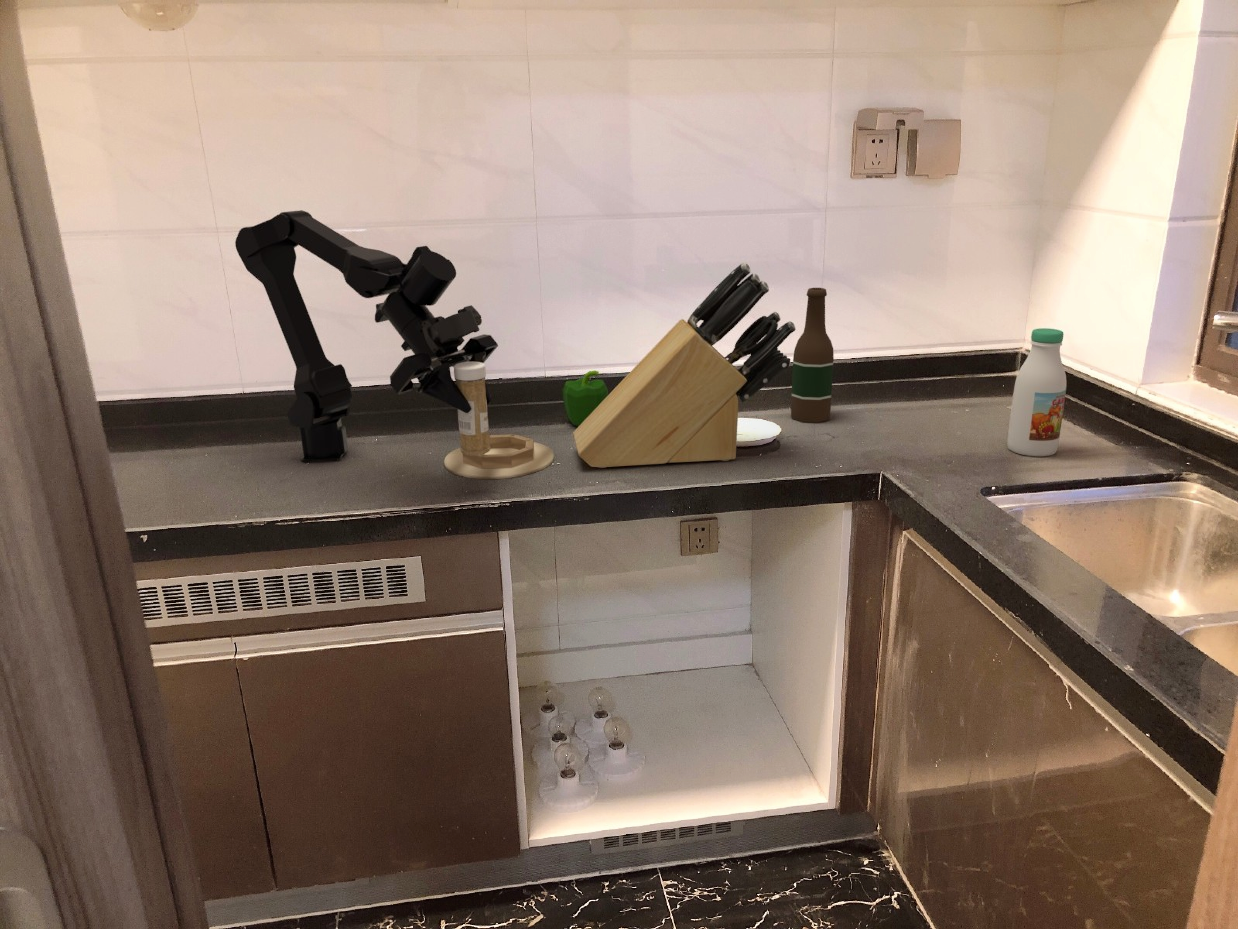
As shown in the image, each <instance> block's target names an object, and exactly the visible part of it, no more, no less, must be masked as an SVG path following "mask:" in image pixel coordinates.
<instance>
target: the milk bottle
mask: <svg viewBox="0 0 1238 929" xmlns="http://www.w3.org/2000/svg"><path fill="white" fill-rule="evenodd" d="M1064 336H1065V335H1064V331H1062V330H1060V329H1055V328H1049V327H1048V328H1047V327H1045V328H1041V327H1040V328H1034V329H1032V331H1031V336H1030V340H1031V341H1030V344H1031V348H1030V352H1029V353H1028V355H1027V357H1026V359H1025V360H1024V362H1023V364H1022V366H1020V368H1019V371H1018V373H1017V374H1016V379H1015V381H1014V382H1015V383H1014V387H1013V388H1014V389H1013V395H1012V401H1011V409H1010V416H1009V422H1008V424H1009V425H1008V433H1007V440H1006V442H1007V443H1006V445H1007V446H1006V447H1007V448H1008V450H1009V451H1011V452H1013V453H1016V454H1019V455H1022V456H1028V457H1048V456H1049V457H1050V456H1053V455H1055V454H1056V453H1057V451H1058V448H1059V444H1060V435H1061V428H1062V423H1063V422H1062V421H1063V417H1064V416H1063V414H1064V408H1065V400H1066V393H1067V375H1066V370H1065V367H1064V365H1063V362H1062V357H1061V352H1060V350H1061V346H1062V345H1063V339H1064Z"/></svg>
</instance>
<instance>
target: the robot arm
mask: <svg viewBox="0 0 1238 929" xmlns="http://www.w3.org/2000/svg"><path fill="white" fill-rule="evenodd" d="M234 244H235V245H234V246H235V249H236V252H237V254H238V256H239V258H240V260H241V262H242V264H243V265H244V267H245V269H246V271H248V272H249V274H251V275H252V276H253V277H254V278H255V279H256V280H258V282H260V283H261V284H262V285H263V288H264V290H265V292H266V295H267V297H268V299H269V300H268V301H269V302H270V305H271V307H272V309H273V313H274V315H275V317H276V320H277V322H278V325H279V327H280V330H281V332H282V335H283V336H284V340H285V342H286V345H287V348H288V349H289V350H288V351H289V352H290V355H291V357H292V360H293V362H294V365H295V368H296V370H295V374H294V375H295V376H294V382H293V390H294V393H295V396H296V400H295V401H294V402H293V404H292V405H291V407H290V409H289V410H288V412H287V413H286V415H287V418H288V421H289V423H290V426H292V427H297V428H299V432H300V440H301V445H302V446H301V447H302V453H303V455H302V457H300V461H301V462H304V463H305V462H307V463H308V462H326V461H327V462H329V461H334V462H335V461H340V460H342V458H343V456H344V455H345V454H346V452H347V451H348V448H349V447H348V446H349V445H348V438H347V431H346V430H347V429H346V427H345V426H343V425H342V419H343V418H347V417H349V415H350V414H349V412H350V406H351V401H352V399H353V393H352V392H353V391H352V387H353V385H352V384H351V382H350V380H349V378H348V376H347V372H346V368H345V367H344V366H343V365H342V364H341V363H339V364H336V365H335V364H334V363H333V362H332V361H330V360H329V359H328V358H327V356H326V354H325V351H324V348H323V347H322V344H321V342H320V338H319V336H318V334H317V331H316V329H315V326H314V324H313V321H312V318H311V316H310V313H309V311H308V308H307V306H306V302H305V301H304V297H303V296H302V293H301V290H300V288H299V286H298V283H297V280H296V278H295V267H296V262H297V253H296V250H295V248H297V247H299V246H300V247H301V248H302V249H304V250H307V251H308V252H309V253H311V254H312V255H314V256H316V257H317V258H319V259H320V260H322V261H324V263H325V262H326V263H327V264H328V265H330V266H331V267H334V269H336V270H338V271H340V272H341V274H342V275H343V278H344V281H345V283H346V284H347V285H348V286H349V287H350V288H351V289H353V290H354V292H356V293H357V294H358V295H359V296H361V297H362V298H364V299H372V298H377V297H382V296H386V295H387V296H386V298H385V299H384V301H383V302H380V303H376V304H375V314H374V321H375V323H377V324H378V323H383V322H386V321H389V322H390V324H391V325H392V327H393V329H394V330H396V332H397V333H398V335H399V336H400V338H402V340H403V343H402V344H401V345H400V347H401V348H402V350H403V351H404V352H407V351H411V352H412V353H413V354H412V355H409V356H408V355H407V356H404V358H402V360H401V361H400V362H399V363H398V365H397V366H396V367H395V369H394V370H393V371H392V373H391V374H390V375H389V379H390V380H389V381H390V382H389V383H390V386H391V387H392V389H393V390H394V392H395V393H396V394H397V396H400V395H403V394H405V393H409V392H412V390H413V389H414V382H413V381H412V380H414V379H417V382H418V383H419V386H418V388H417V389H416V393H418V394H421V393H422V394H425V395H428V396H430V397H432V398H434V399H437V400H438V401H441V402H443V403H445V404H447V405H449V406H452V407H453V408H455V409H457V410H458V409H459V410H461V411H463V412H465V413H469V412H470V411H471V406H470V405H469V403H468V401H467V400H466V398H465V397H464V395H463V394H462V392H461V391H460V389H459V388H458V387H457V385H456V381H454V379H453V378H452V375H451V368H454V366H455V365H456V364H458V363H462V362H481V363H483V364H485V362H486V361H487V360H488V359H489V357H491V355H492V354H493V353H494V351H495V350H496V349H497V348H498V347H499V345H498V343H497V342H496V340H495V338H494V337H493V336H492V335H491V334H481V335H478V336H474V337H471V338H469V339H468V341H467V342H466V343H465V344H464V345H463V347H462V348H461V349H460V350H459V349H458V347H459V346H462V344H463V343H464V342H465V339H464V337H465V336H468V335H470V334H472V333H477V332H479V331H480V327H479V326H480V325H481V324H482V323H483V320H482V315H481V314H480V313H479V312H478V311H477V309H476V308H475V307H474V306H473V305H470V304H469V305H466V306H464V307H463V308H461V309H458V310H457V313H454V314H451V315H449V316H447V317H444V316H442V315H441V316H440V315H439V316H436V317H435V316H434V314H433V313H432V311H430V309H429V308H428V306H429V307H431V306H435V304H437V302H439V300H440V299H441V297H442V296H443V295H444V294H445V292H446V290H447V289H448V288H449V286H451V283H452V282H453V281H454V280H455V278H456V277H457V276H456V275H457V270H456V268H455V265H454V263H452V261H451V260H450V259H448V258H446V257H445V256H443V255H442V254H440V253H438V252H436V251H432V250H431V249H430V248H429V247H428V246H427V245H422V246H417V247H415V249H414V250H413V251H412V254H411V257H410V259H409V260H408V262H407V263H404V262H403V261H402V260H401V259H400V258H399V257H397V256H396V255H394V254H391V253H388V252H385V251H383V250H379V249H373V248H367V247H364V246H361V245H360V244H357V243H355V241H352V240H350V239H349V238H347V237H346V236H344V235H342V234H340V233H339V232H338V231H335V230H334V229H332V228H330V227H329V226H328V225H326V224H324V223H322V222H320V221H319V220H317V219H316V218H314V217H313V216H312V214H311V213H310V212H308V211H305V210H301V209H300V210H290V211H283V212H282V211H281V212H280V213H279V214H276V215H275V216H274V217H272V218H269V219H268V220H266V221H263V222H261V223H258V224H256V225H253V226H245V227H242V228H240V229H239V231H238V233H237V236H236V238H235V243H234ZM485 389H486V400H487V406H489V405H490V404H491V403H492V397H491V394H490V391H489V388H488V385H487V381H485Z"/></svg>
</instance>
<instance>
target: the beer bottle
mask: <svg viewBox="0 0 1238 929" xmlns="http://www.w3.org/2000/svg"><path fill="white" fill-rule="evenodd" d="M827 295H828V293H827V289H826V288H825V287H809V288H808V289H807V291H806V296H807V305H806V313H805V323H804V329H803V332H802V334H801V335H800V337H799V338H798V339H797V342H796V344H795V347H794V349H793V350H794V351H793V357H792V371H791V372H792V375H791V398H790V417H791V419H792V420H794V421H796V422H800V423H808V424H809V423H810V424H811V423H812V424H819V423H824V422H827V421H829V420H830V417H831V410H832V409H831V408H832V393H833V390H832V389H833V375H834V374H833V372H834V360H835V359H834V357H835V356H834V355H835V354H834V347H833V344H832V343H833V342H832V339H831V338H830V337H829V335H828V334H827V329H826V297H827Z"/></svg>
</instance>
